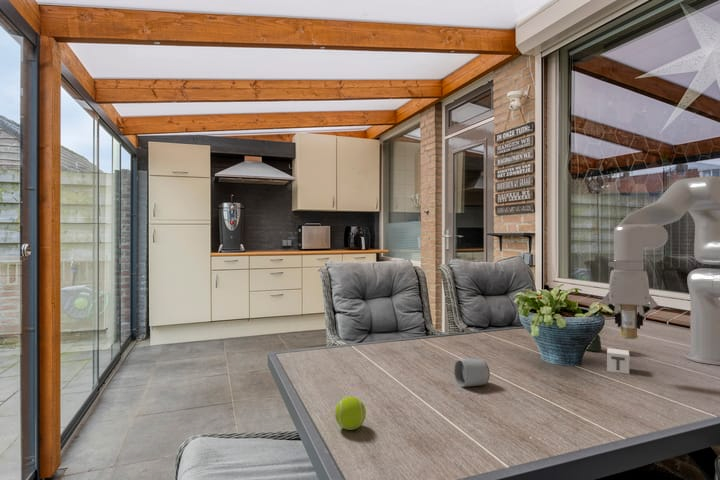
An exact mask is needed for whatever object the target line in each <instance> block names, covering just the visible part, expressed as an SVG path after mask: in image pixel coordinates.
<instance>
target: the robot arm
mask: <svg viewBox="0 0 720 480" xmlns="http://www.w3.org/2000/svg"><path fill="white" fill-rule="evenodd" d="M686 213H689V215H690V216H691V218H692V220H693V222H694V249H693V251H694V252H693V254H694V258H695V260H696V261H697V263H700V264H705V265H713V266H720V176H715V175H706V176H699V177H687V178H682V179H678V180H676V181H675V182H673V183H672V184H671V185H670V186H669V187H668V189H666V190H665V192H663V193H662V195H661V196H660V197H659V198H658V199H656V201H655V202H652V203H651V204H648V205H646V206H644V207H641V208H639V209H638V210H635V211H633V212H631V213H629V214H628V215H626V216H625V217H624V218H623V219H622V220H621V221H620V222H619V224H618V225H617V226H615V227H614V229H613V236H612V237H613V261H609V262H608V267H611V268H612V270H611V271H610V275H609V282H608V283H609V284H608V292H607V293H606V295H605V296H604V297H603V298H602V299H601V303H602V304H603V305H605V306H606V307H607V308H609V309H610V310H611V311H612V312H613V313H614V324H617V328H621V327H620V305H636V306H637V330H638V329H639V330H641V327H643V326H644V316H645V314H646V313H648V312H649V311H651V310H652V309H655V308H656V307H658V302H656V300H654V298H653V297H652V296H651V294H650V284H649V277H648V272H647V271H645V270H644V249H645V250H655V249H656V250H657V249H660V248H662V247H664V246H665V245H666V244H667V242H668V240H669V232H668V231H667V229H666V228H665V227H664V226H665V225H669V224H674V223H675V222H677V221H679V220H680V219H681V218H682V217H684V215H685V214H686ZM686 278H687V279H686V280H687V281H686V282H687V288H688V293H689V301H690V316H689V317H690V318H689V319H690V320H689V321H690V325H689V326H690V327H689V329H690V331H689V332H690V335H689V337H690V338H689V339H690V343H689V345H690V346H689V347H690V348H689V349H690V350H689V351H687V352H685V353H684V357H685V358H686V360H687V359H688V360H689V361H692V362H697V363H699V364H700V363H701V364H708V365H716V366H720V268H709V267H708V268H707V267H705V268H703V267H700V268H699V267H698V268H696V269H692V270H691V271H690V272H689V273H688V275H687V277H686Z"/></svg>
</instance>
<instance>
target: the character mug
mask: <svg viewBox="0 0 720 480" xmlns="http://www.w3.org/2000/svg"><path fill="white" fill-rule="evenodd" d="M603 330H604V329H602V330H601V332H600V333H599V334H598V335H597V336H596V337H595V339H594V340H593V341H592V343H591V344H590V346H589V347H588V349H587V350H588V351H589V350H590V351H598V352H599V351H601V350H602V341H601V336H600V335H601V334H603Z"/></svg>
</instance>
